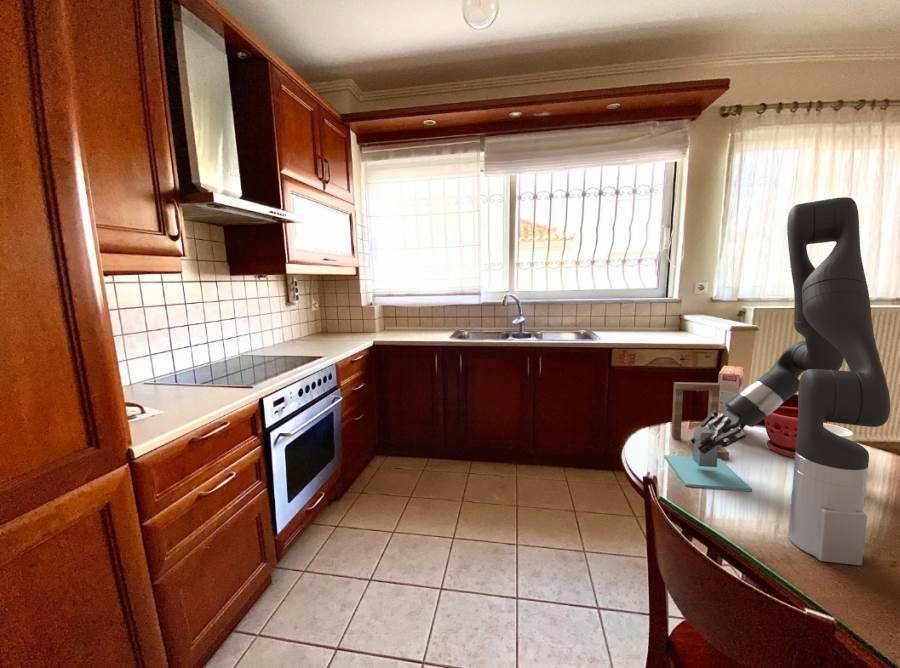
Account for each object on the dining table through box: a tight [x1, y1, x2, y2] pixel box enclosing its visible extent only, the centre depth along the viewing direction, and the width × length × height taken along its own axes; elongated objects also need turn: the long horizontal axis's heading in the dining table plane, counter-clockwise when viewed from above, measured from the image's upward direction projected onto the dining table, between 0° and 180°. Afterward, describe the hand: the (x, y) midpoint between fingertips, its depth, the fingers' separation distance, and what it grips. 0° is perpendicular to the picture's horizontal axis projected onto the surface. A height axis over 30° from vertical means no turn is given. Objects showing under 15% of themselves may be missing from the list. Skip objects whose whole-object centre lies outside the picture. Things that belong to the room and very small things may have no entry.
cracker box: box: [717, 365, 745, 436], centre depth 123 cm, size 14×6×21 cm, turn 139°
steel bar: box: [692, 426, 719, 467], centre depth 97 cm, size 4×4×9 cm
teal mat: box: [663, 454, 753, 492], centre depth 98 cm, size 16×14×1 cm
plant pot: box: [763, 406, 828, 459], centre depth 107 cm, size 13×13×12 cm
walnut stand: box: [671, 381, 730, 460], centre depth 112 cm, size 15×12×18 cm
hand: (696, 447), depth 98 cm, fingers closed on steel bar, 4 cm apart
